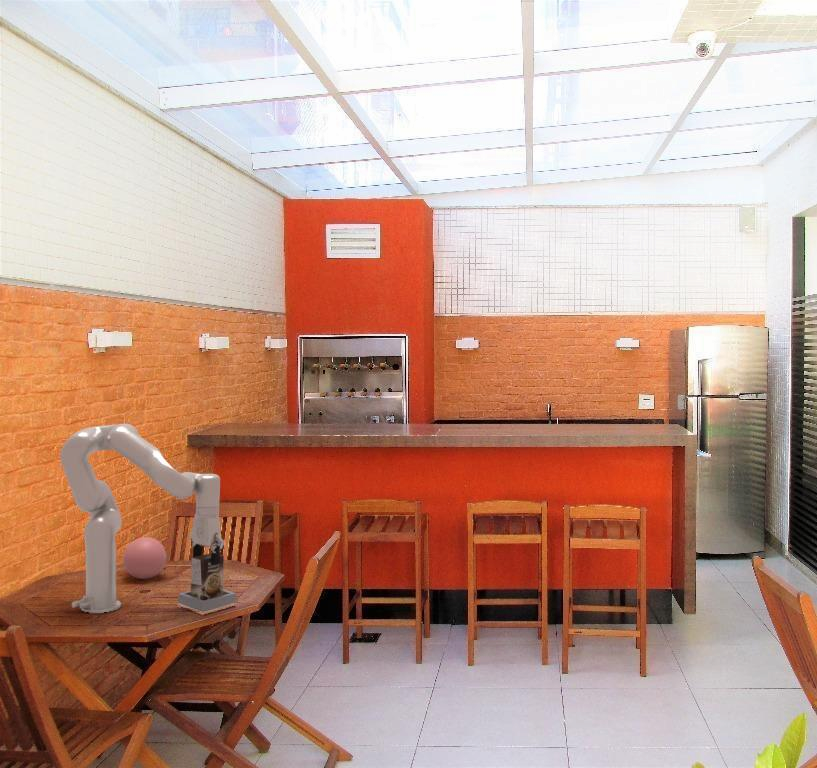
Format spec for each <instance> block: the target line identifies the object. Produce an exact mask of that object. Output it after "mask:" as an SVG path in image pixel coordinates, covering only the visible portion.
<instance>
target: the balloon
mask: <svg viewBox="0 0 817 768" xmlns="http://www.w3.org/2000/svg"><path fill="white" fill-rule="evenodd" d="M122 558H123V559H122V560H123V566H124V568H125V570H126V572H127V573H128V574H129V575H130V576H131V577H133V578H136V579H140V580H148V579H152V578H154V577H156V576H158V575H159V574H160V573H161V572H162V570H164V567H165V565H166V563H167V552H166V549H165V547H164V546H163V544H162V543H161V541H159V540H158V539H156V538H154V537H148V536H143V537H139V538H136V539H134V540H133V541H132V542H130V543H129V544H128V545H127V547H126V549H125V550H124V552H123V556H122Z"/></svg>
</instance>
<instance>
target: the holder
mask: <svg viewBox="0 0 817 768" xmlns="http://www.w3.org/2000/svg"><path fill="white" fill-rule="evenodd" d="M236 596H237V593H236V592H233V591H230V590H227V589H224V588H223V596H219V597H215V598H212V599H208V600H201V599H198V598H195V597H192V596H191V590H188V591H187V590H186V591H183V592H180V593H178V606H179V605H181V606H184V607H187V608H191V609H195V610H198V611H201V612H206V611H209V610H213V609H216V608H219V607H223V606H226V605H228V604H231V603H234V602H236V603H237V597H236Z"/></svg>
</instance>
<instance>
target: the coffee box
mask: <svg viewBox="0 0 817 768" xmlns="http://www.w3.org/2000/svg"><path fill="white" fill-rule="evenodd" d="M211 553H212V552H211ZM211 553H206V554H202V555H200V556H196V557H193V556H192V557H191V561H190V562H191V569H190V574H191V576H190V591H191V596H192V597H195V598H198V599H201V600H208V599H212V598H215V597H219V596H223V589H224V560H225V559H224V558H225V557H224V555H223V554H220V562H219V564H215V565H211Z"/></svg>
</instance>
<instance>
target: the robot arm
mask: <svg viewBox="0 0 817 768" xmlns="http://www.w3.org/2000/svg"><path fill="white" fill-rule="evenodd" d="M111 450H113V451H115V452H116V453H117V454H118V455H120V456H122V457H123V458H125V459H126V460H128V461H129V463H132V464H133V465H135V466H136V467H138V468H139V469H140V470H142V472H143V473H144V474H145V475H146V476H147V477H148V478H150V480H152V482H154V483H155V484H156V485H157V486H158V487H160V488H161V489H162V490H164V491H166V493H168V494H170V496H173V497H175V498H177V499H180V500H184V499H187V498H189V497H191V496H192V495H193V494H196V500H195V501H196V507H195V508H196V509H195V514H194V518H193V522H192V530H191V531H190V532H189V536H190V541H191V546H192V557H196V556H200V555H203V547H204V548H205V547H206V548H209V547H210V550H211V565H215V564H219V562H220V555H221V554H220V553H222V550H223V548H224V545H225V540H224V539H223V538H222V537H221V520H220V499H221V498H220V497H221V495H220V494H221V493H220V491H221V477H220V475H218V474H216V473H197V472H191V471H185V472H179V471H178V470H177V469H175V468H174V467H172V466H171V465H170V464H169V463H168V462H167V461H166V459H165V458H164V456H163V454H162V451H160V449H158V448H157V447H156V446H154V445H153V444H152V443H151V442H149V441H148V440H146V439H145V438H143V436H142V437H141V436H140V434H139V432H138V429H137V428H136V427H135V426H134V425H132V424H129V423H120V424H119V423H117V424H108V425H99V426H91V427H90V426H89V427H86V428H83V429H80V430H78V431H76V432H75V433H73V434H72V435H71V436H69V438H67V439H66V440H65V442H64V443H63V445H62V447H61V450H60V455H59V456H60V463H61V467H62V470H63V472H64V475H65V478H66V480H67V482H68V485H69V488H70V490H71V494H72V496H73V499H74V501H75V504H76V506H77V508H78V509H79V510H80V511H82V512H84V513H88V514H89V515H90V518H89V519H88V521H87V522H86V524H85V527H84V531H83V536H84V538H83V539H84V546H85V595H82V598H81V599H80V600H75V601H72V602H71V607H72V608H73V609H74V608H75V609H76V608H77V607H79V608H80V610H81V611H82V612H83V611H84V613H86V612H89V613H88V614H105V613H104V612H107V613H110V611H111V612H114V610H115V611H117V610H119V609H120V608H121V607H122V602H121V601H120V600H119V599H117V545H116V535H117V533H118V532H119V531H120V529H121V528H122V525H123V520H122V519H123V518H122V515H121V514H122V513H121V512H120V510H119V507H118V504H117V502H116V499H115V496H114V494H113V492H112V490H111V488H110V486H109V485H108V484H107V482H105V481H104V480H101V479H98V478H97V477H96V474H95V472H94V469H93V468H94V467H92V464H91V463H90V462H89V457H90V455H92V454H94V453H96V452H100V451H102V452H103V451H111Z"/></svg>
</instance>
